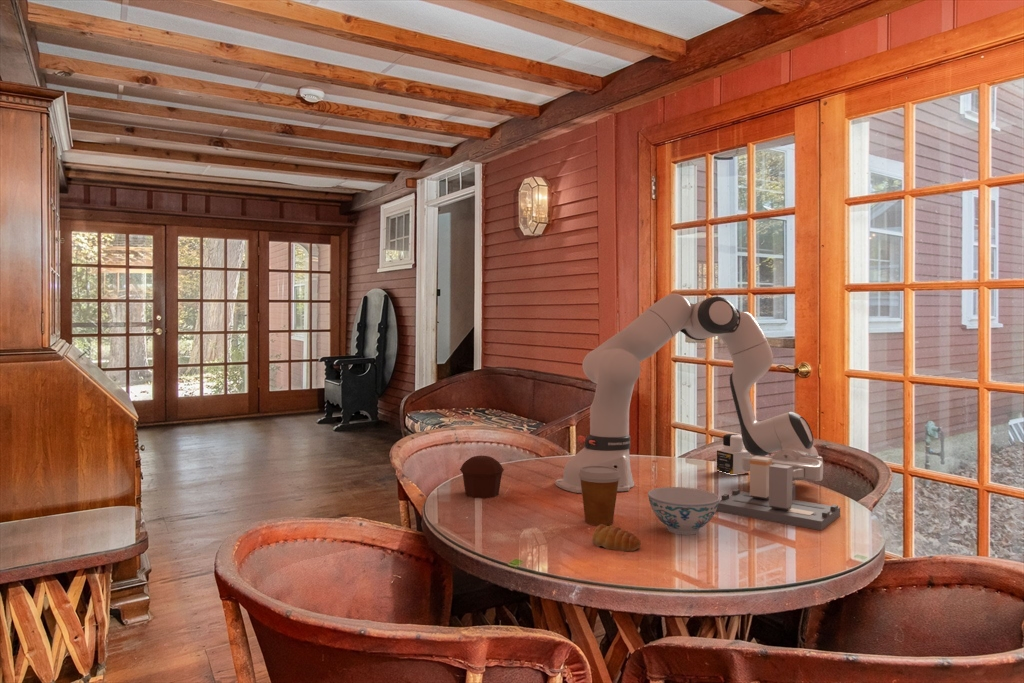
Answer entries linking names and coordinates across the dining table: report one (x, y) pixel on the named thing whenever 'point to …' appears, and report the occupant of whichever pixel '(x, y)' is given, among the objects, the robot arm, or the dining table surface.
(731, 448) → the medicine bottle
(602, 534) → the pastry
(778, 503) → the fader
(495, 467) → the muffin
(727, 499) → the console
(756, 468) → the block
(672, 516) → the chinaware
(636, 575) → the dining table surface
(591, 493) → the disposable coffee cup
